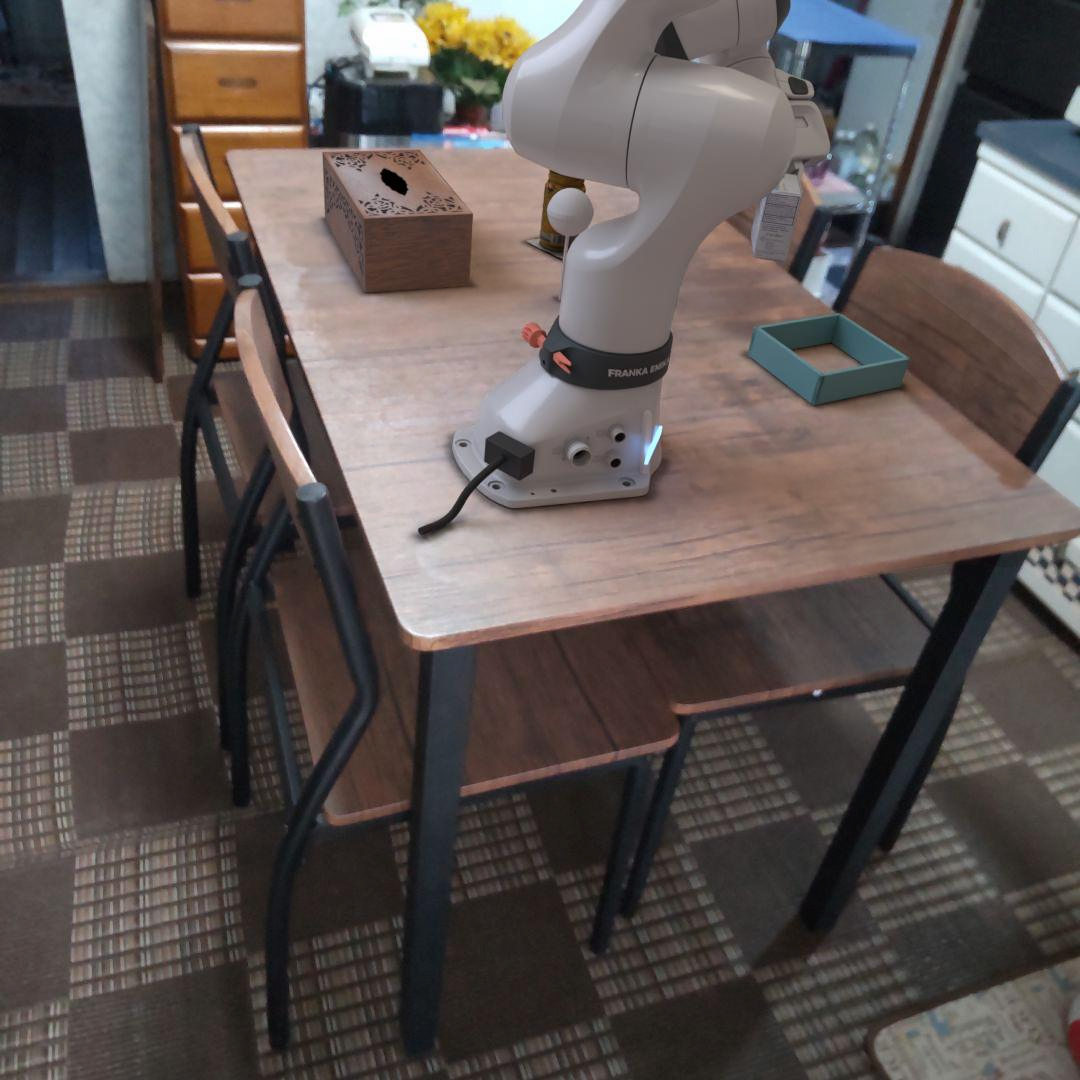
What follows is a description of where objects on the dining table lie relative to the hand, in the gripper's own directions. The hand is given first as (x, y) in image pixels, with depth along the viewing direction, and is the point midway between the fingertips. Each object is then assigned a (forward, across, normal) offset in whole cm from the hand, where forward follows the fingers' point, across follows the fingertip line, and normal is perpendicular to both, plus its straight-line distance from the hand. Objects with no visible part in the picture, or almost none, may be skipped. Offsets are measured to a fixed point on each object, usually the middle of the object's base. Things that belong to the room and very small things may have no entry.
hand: (774, 201), depth 127 cm
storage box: (+23, 0, 0) cm, 23 cm away
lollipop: (+3, -23, +20) cm, 31 cm away
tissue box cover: (-12, -39, +34) cm, 54 cm away
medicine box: (+6, -1, +2) cm, 6 cm away
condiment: (-8, -14, +31) cm, 35 cm away
